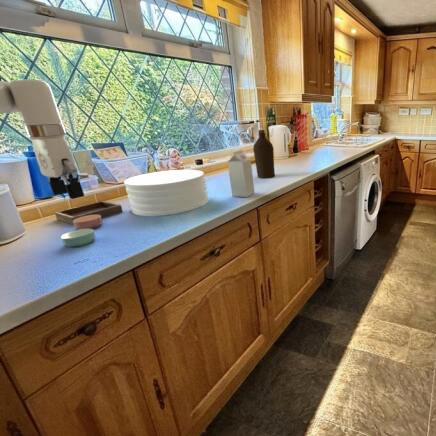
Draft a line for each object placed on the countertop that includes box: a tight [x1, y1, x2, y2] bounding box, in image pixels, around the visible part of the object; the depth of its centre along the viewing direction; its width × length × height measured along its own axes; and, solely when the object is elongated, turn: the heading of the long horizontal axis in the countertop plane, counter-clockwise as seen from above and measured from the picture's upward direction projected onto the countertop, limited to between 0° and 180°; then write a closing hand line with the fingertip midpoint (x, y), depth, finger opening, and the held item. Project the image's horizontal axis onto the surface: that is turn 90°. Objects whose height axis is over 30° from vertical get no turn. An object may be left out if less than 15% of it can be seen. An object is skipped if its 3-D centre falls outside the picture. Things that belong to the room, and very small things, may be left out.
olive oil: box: [252, 129, 276, 179], centre depth 163 cm, size 11×11×25 cm
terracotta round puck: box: [73, 215, 104, 230], centre depth 100 cm, size 7×7×3 cm
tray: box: [54, 200, 124, 226], centre depth 111 cm, size 16×14×3 cm
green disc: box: [60, 228, 97, 248], centre depth 87 cm, size 7×7×3 cm
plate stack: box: [123, 169, 209, 217], centre depth 120 cm, size 28×28×12 cm
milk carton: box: [227, 149, 255, 198], centre depth 129 cm, size 7×7×19 cm
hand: (69, 195), depth 84 cm, fingers open, 9 cm apart
